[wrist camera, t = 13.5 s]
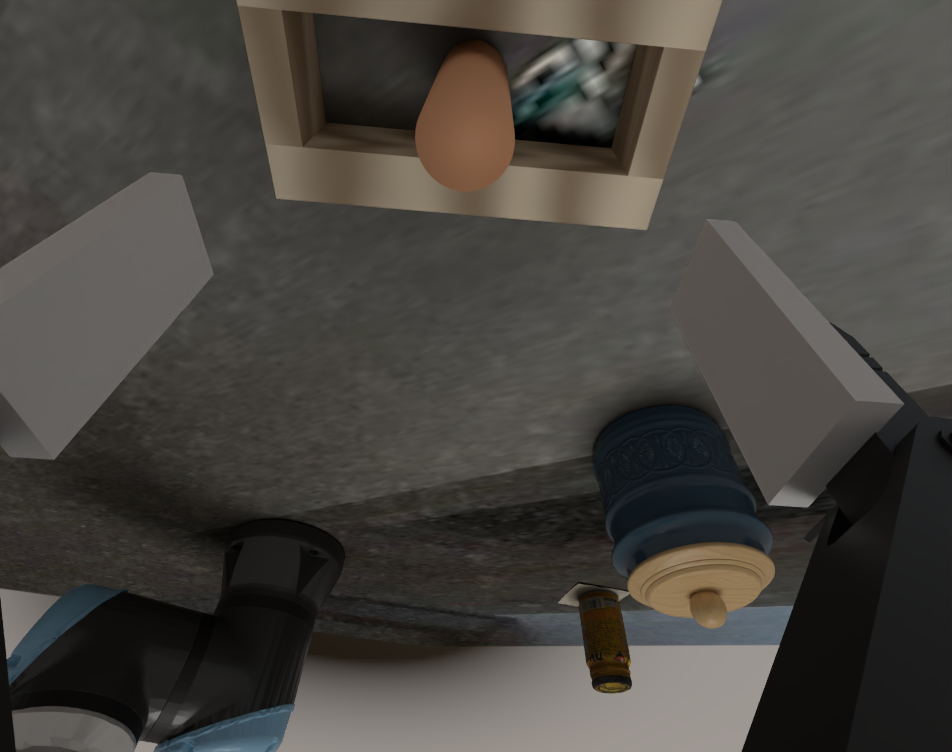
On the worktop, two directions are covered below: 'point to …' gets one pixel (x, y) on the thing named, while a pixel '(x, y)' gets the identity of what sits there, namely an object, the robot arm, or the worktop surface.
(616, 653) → the condiment
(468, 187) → the peg
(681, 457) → the canister
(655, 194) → the socket block
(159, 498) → the worktop surface
